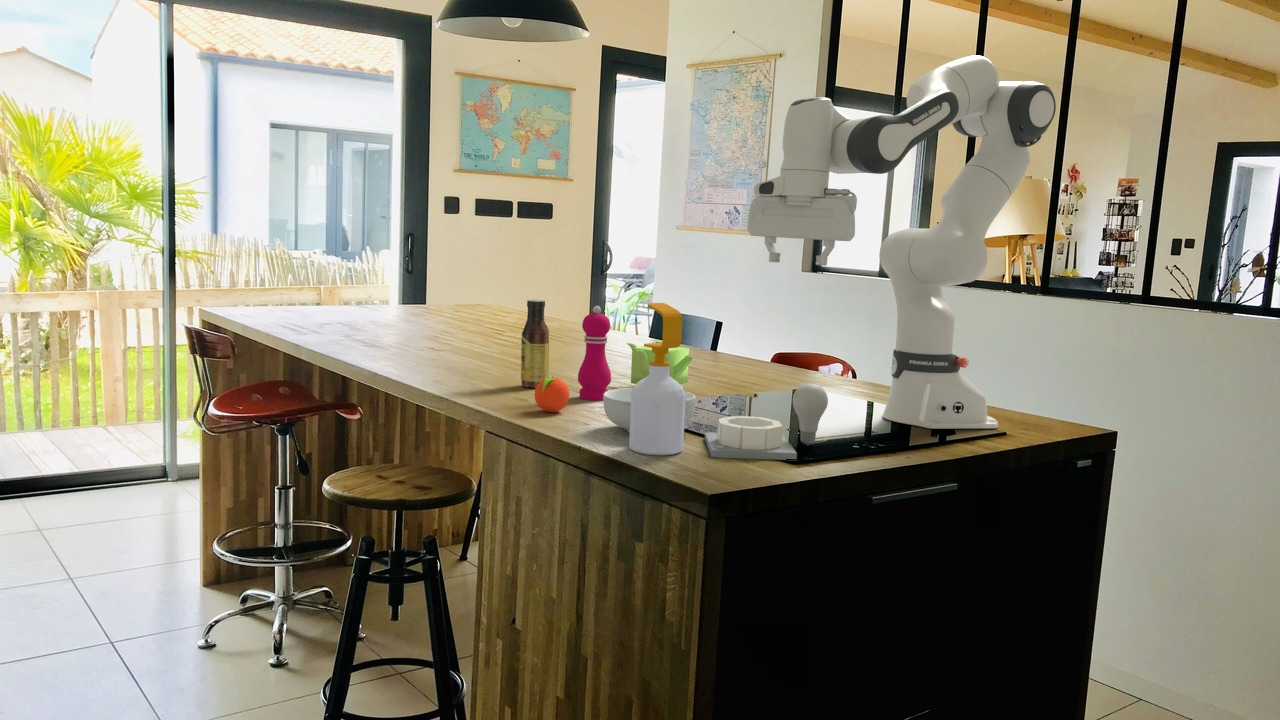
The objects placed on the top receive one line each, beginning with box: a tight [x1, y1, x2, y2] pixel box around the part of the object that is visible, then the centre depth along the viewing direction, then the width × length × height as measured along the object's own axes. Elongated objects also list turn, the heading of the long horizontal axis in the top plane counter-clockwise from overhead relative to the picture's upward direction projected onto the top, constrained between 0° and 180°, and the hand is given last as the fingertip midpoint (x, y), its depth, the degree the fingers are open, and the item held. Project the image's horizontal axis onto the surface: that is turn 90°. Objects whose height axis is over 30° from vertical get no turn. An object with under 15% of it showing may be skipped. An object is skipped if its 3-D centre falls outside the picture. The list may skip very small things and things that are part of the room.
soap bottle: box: [628, 302, 686, 456], centre depth 162 cm, size 9×9×25 cm
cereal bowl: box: [602, 387, 697, 434], centre depth 178 cm, size 17×17×7 cm
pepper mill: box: [577, 305, 612, 402], centre depth 210 cm, size 7×7×20 cm
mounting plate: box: [704, 432, 798, 461], centre depth 167 cm, size 14×14×2 cm
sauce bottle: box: [520, 299, 550, 389], centre depth 222 cm, size 6×6×20 cm
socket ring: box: [717, 415, 784, 450], centre depth 167 cm, size 10×10×4 cm
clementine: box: [534, 376, 570, 413], centre depth 193 cm, size 8×7×7 cm
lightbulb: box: [792, 383, 829, 446], centre depth 172 cm, size 6×6×11 cm
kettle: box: [625, 340, 695, 385], centre depth 227 cm, size 15×14×11 cm
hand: (797, 263), depth 180 cm, fingers open, 8 cm apart
